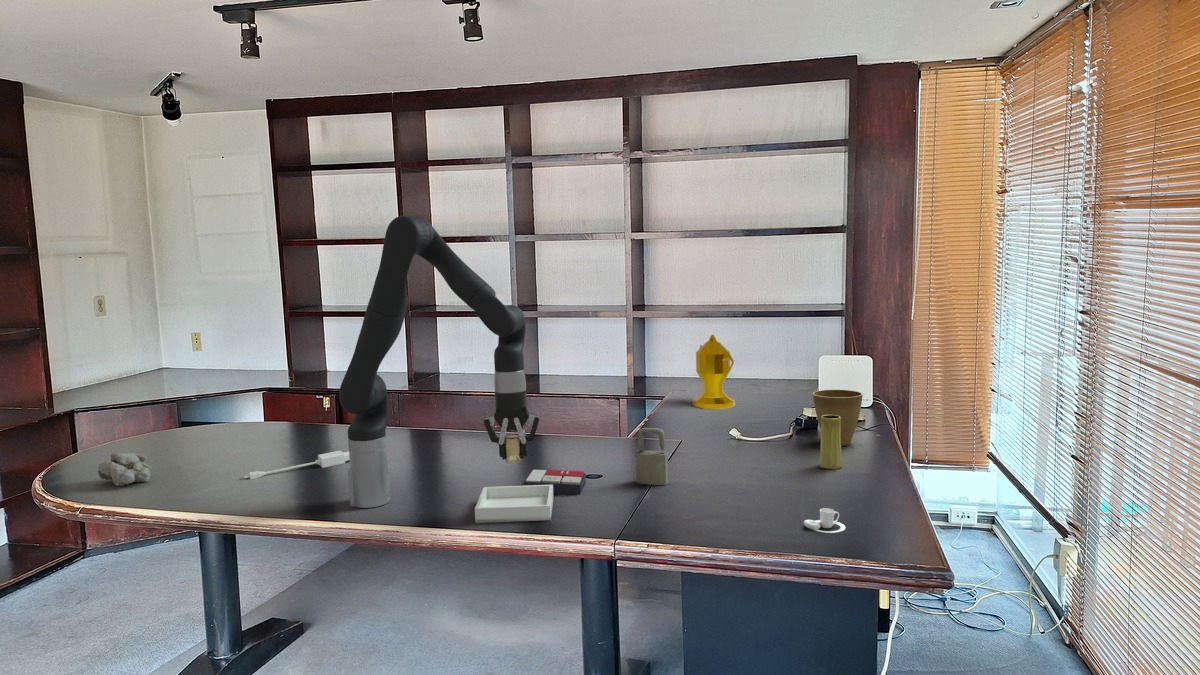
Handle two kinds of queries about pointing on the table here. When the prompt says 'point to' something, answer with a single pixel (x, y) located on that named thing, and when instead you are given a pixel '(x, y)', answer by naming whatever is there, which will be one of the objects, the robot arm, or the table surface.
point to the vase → (830, 442)
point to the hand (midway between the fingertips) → (513, 458)
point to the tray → (514, 504)
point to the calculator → (558, 480)
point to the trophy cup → (713, 375)
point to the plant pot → (839, 409)
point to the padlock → (651, 461)
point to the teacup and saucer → (825, 521)
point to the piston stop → (513, 449)
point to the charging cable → (323, 461)
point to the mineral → (125, 469)
